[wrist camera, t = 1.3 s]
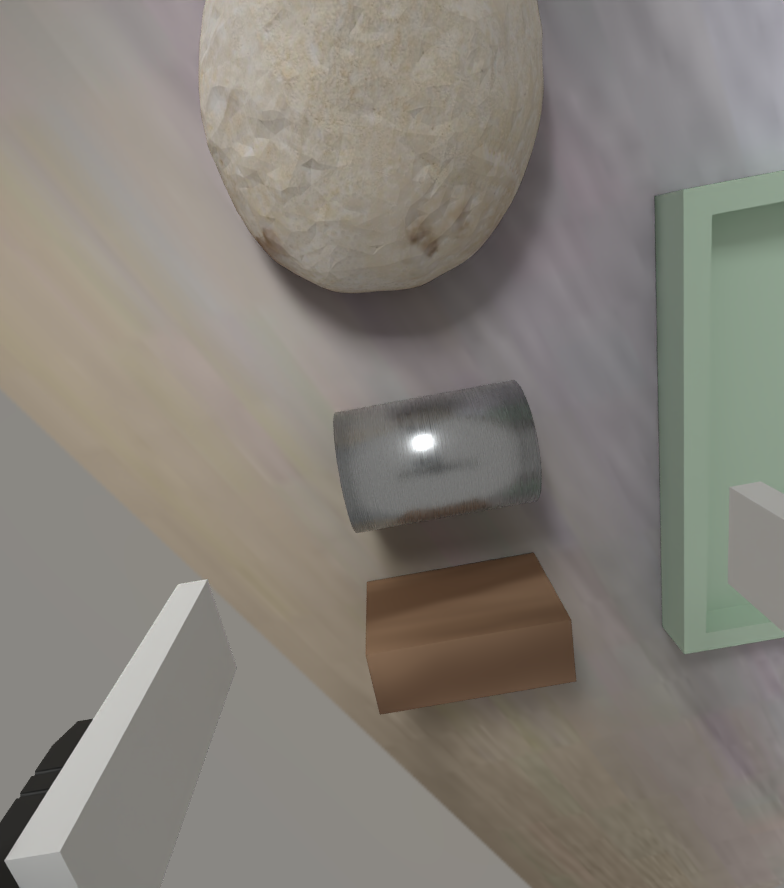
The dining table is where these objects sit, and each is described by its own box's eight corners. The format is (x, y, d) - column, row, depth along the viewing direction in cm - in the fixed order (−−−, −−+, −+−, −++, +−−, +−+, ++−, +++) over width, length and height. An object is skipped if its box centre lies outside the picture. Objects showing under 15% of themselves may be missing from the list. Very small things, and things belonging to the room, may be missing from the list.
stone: (408, 275, 26) (542, 300, 20) (200, 286, 20) (301, 327, 14) (424, -80, 20) (613, -187, 14) (147, -196, 15) (273, -444, 9)
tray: (654, 196, 20) (683, 189, 18) (892, 150, 20) (946, 138, 18) (662, 626, 27) (684, 654, 25) (842, 595, 27) (878, 621, 25)
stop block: (366, 581, 25) (365, 654, 21) (533, 552, 25) (571, 619, 20) (378, 633, 26) (379, 714, 22) (539, 605, 26) (576, 681, 21)
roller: (338, 399, 23) (329, 433, 18) (501, 369, 22) (534, 395, 18) (360, 501, 24) (357, 556, 20) (513, 474, 24) (546, 522, 19)
